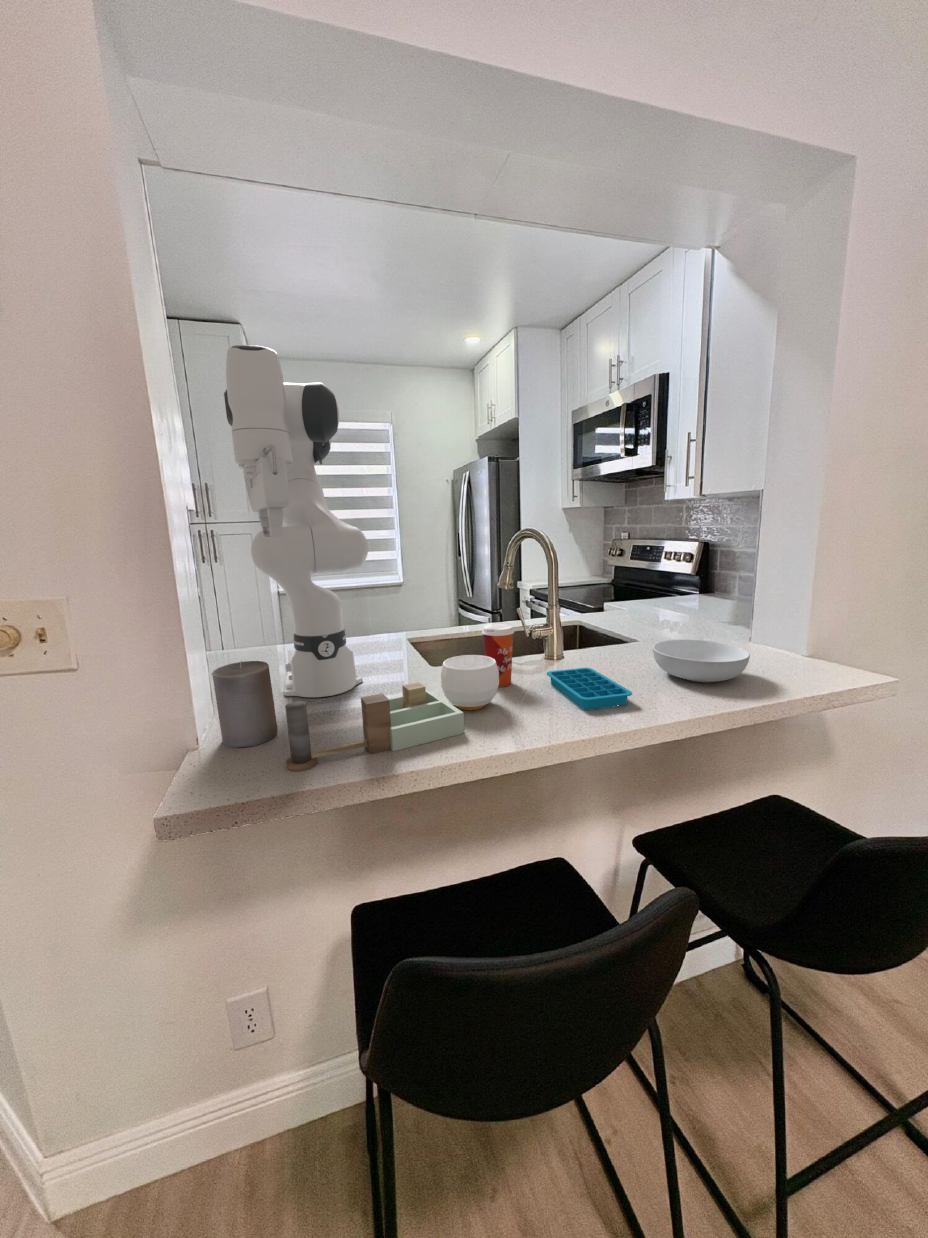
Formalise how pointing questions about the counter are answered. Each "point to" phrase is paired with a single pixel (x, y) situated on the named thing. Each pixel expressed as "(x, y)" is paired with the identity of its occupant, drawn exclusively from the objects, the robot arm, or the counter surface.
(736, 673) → the serving bowl
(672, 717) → the counter surface
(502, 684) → the paper cup
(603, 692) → the ice cube tray
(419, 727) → the lane rack
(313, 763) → the tethered walnut block
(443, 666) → the white deep bowl
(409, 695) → the oak block
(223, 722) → the pillar candle
